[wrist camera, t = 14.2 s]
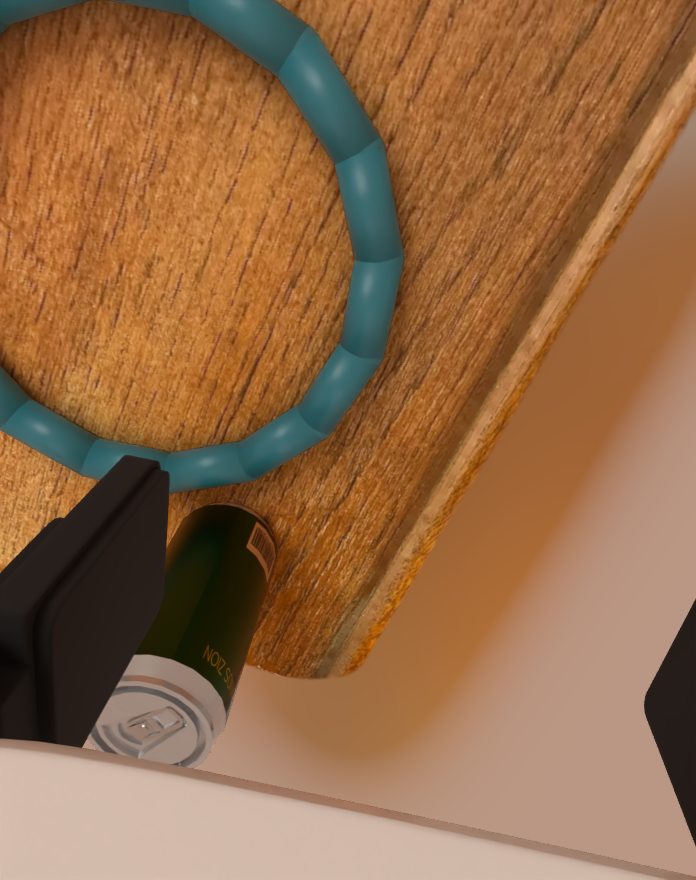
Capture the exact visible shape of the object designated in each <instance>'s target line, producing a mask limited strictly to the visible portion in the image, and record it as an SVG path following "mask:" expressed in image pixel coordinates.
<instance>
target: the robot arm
mask: <svg viewBox="0 0 696 880" xmlns="http://www.w3.org/2000/svg"><path fill="white" fill-rule="evenodd" d="M169 486H170V475H169V472H168V471H164V470H161V466H160V463H159V461H156V460H151V459H146V458H142V457H137V456H132V455H124V456H123V457H122V458H121V459H120V460H119V461H118V462H117V463H116V464H115V465H114V466H113V467H112V468H111V469H110V470H109V472H108V473H107V474H106V475H105V476H104V477H103V478H102V479H101V480H100V481H99V482H98V483H97V484H96V485H95V486H94V487H93V488H92V489H91V490H90V492H89V493H88V494H87V495H86V496H85V497H84V498H83V499H82V500H81V501H80V502H79V503H78V504H77V505H76V506H75V507H74V508H73V509H72V510H71V511H70V513H69V514H68V515H67V516H66V517H65V518H56V519H54V520H53V521H51V522H50V523H49V524H48V525H47V526H46V527H45V528H44V529H43V530H42V531H41V532H40V533H39V534H38V535H37V536H36V537H35V538H34V539H33V540H32V541H31V542H30V543H29V544H28V545H27V546H26V547H25V548H24V549H23V550H22V551H21V552H20V553H19V554H18V555H17V556H16V557H15V558H14V559H13V560H12V561H11V562H10V563H9V564H8V565H7V566H6V567H5V569H4V570H3V571H2V572H1V573H0V880H696V877H695V876H690V875H685V874H681V873H677V872H672V871H667V870H663V869H659V868H654V867H650V866H645V865H640V864H636V863H632V862H627V861H623V860H618V859H613V858H609V857H605V856H600V855H595V854H591V853H587V852H582V851H577V850H573V849H568V848H564V847H559V846H554V845H550V844H545V843H540V842H536V841H531V840H526V839H522V838H517V837H513V836H508V835H503V834H499V833H494V832H489V831H485V830H480V829H476V828H471V827H467V826H462V825H457V824H453V823H448V822H443V821H439V820H434V819H429V818H425V817H420V816H415V815H411V814H406V813H401V812H397V811H392V810H387V809H383V808H378V807H373V806H369V805H364V804H359V803H354V802H350V801H345V800H340V799H335V798H331V797H326V796H321V795H316V794H311V793H307V792H302V791H297V790H292V789H288V788H283V787H278V786H273V785H269V784H264V783H259V782H254V781H249V780H245V779H240V778H235V777H230V776H226V775H221V774H216V773H211V772H207V771H202V770H197V769H191V768H186V767H181V766H176V765H171V764H165V763H160V762H155V761H150V760H145V759H139V758H134V757H129V756H124V755H119V754H113V753H108V752H103V751H98V750H92V749H85V748H82V747H83V745H84V743H85V741H86V740H87V738H88V736H89V734H90V733H91V731H92V729H93V727H94V725H95V724H96V722H97V720H98V718H99V717H100V715H101V713H102V711H103V709H104V708H105V706H106V704H107V702H108V701H109V699H110V697H111V695H112V693H113V692H114V690H115V688H116V686H117V685H118V683H119V681H120V679H121V678H122V676H123V674H124V672H125V670H126V669H127V667H128V665H129V663H130V662H131V660H132V658H133V656H134V654H135V653H136V651H137V649H138V647H139V646H140V644H141V642H142V640H143V638H144V637H145V635H146V633H147V631H148V630H149V628H150V626H151V624H152V622H153V621H154V619H155V617H156V615H157V613H158V611H159V609H160V606H161V603H162V600H163V595H164V580H165V561H166V543H167V524H168V505H169ZM644 709H645V715H646V718H647V721H648V723H649V726H650V729H651V731H652V734H653V736H654V739H655V742H656V744H657V747H658V749H659V752H660V754H661V757H662V760H663V762H664V765H665V767H666V770H667V773H668V775H669V778H670V780H671V783H672V785H673V788H674V791H675V794H676V796H677V799H678V801H679V804H680V807H681V809H682V812H683V814H684V817H685V819H686V822H687V825H688V827H689V830H690V833H691V835H692V838H693V840H694V843H695V845H696V600H695V601H694V603H693V605H692V607H691V609H690V611H689V613H688V615H687V617H686V619H685V621H684V622H683V624H682V627H681V628H680V630H679V632H678V634H677V636H676V638H675V640H674V641H673V643H672V645H671V647H670V649H669V651H668V653H667V655H666V657H665V659H664V661H663V662H662V665H661V666H660V668H659V670H658V672H657V674H656V676H655V678H654V680H653V681H652V683H651V685H650V688H649V689H648V691H647V693H646V696H645V701H644Z"/></svg>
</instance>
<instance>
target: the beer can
mask: <svg viewBox="0 0 696 880" xmlns="http://www.w3.org/2000/svg"><path fill="white" fill-rule="evenodd" d="M276 558H277V548H276V543H275V539H274V536H273V534H272V531H271V530H270V528H269V526H268V525H267V523H266V521H265V520H264V519H263V518H262V517H260V516H259V515H258V514H257V513H256V512H255V511H253V510H251V509H249V508H247V507H245V506H243V505H240V504H236V503H231V502H217V503H212V504H209V505H207V506H204V507H201V508H199V509H196V510H194V511H193V512H192V513H190V514H189V515H188V516H187V517H186V518H184V519H183V521H182V523H181V524H180V526H179V528H178V529H177V531H176V533H175V535H174V536H173V538H172V540H171V541H170V543H169V545H168V547H167V548H166V561H165V580H164V595H163V600H162V603H161V606H160V609H159V611H158V613H157V615H156V617H155V619H154V621H153V622H152V624H151V626H150V628H149V630H148V631H147V633H146V635H145V637H144V638H143V640H142V642H141V644H140V646H139V647H138V649H137V651H136V653H135V654H134V656H133V658H132V660H131V662H130V663H129V665H128V667H127V669H126V670H125V672H124V674H123V676H122V678H121V679H120V681H119V683H118V685H117V686H116V688H115V690H114V692H113V693H112V695H111V697H110V699H109V701H108V702H107V704H106V706H105V708H104V709H103V711H102V713H101V715H100V717H99V718H98V720H97V722H96V724H95V725H94V727H93V729H92V731H91V733H90V734H89V736H88V738H87V739H88V740H89V741H90V743H92V745H93V746H94V747H95V748H96V750H98V751H103V752H108V753H113V754H119V755H124V756H129V757H134V758H139V759H145V760H150V761H155V762H160V763H165V764H171V765H176V766H181V767H186V768H191V769H194V768H195V767H197V766H198V765H200V764H202V763H203V762H204V760H205V759H206V757H207V756H208V755H209V753H210V752H211V749H212V746H213V744H214V743H215V742H216V741H217V739H218V738H219V736H220V735H221V734H222V732H223V731H224V728H225V725H226V722H227V719H228V715H229V712H230V709H231V706H232V703H233V699H234V696H235V693H236V690H237V686H238V683H239V680H240V676H241V674H242V670H243V667H244V664H245V661H246V658H247V654H248V651H249V648H250V645H251V641H252V638H253V635H254V632H255V629H256V625H257V622H258V619H259V616H260V612H261V609H262V606H263V603H264V600H265V596H266V593H267V590H268V587H269V584H270V580H271V577H272V574H273V571H274V567H275V563H276Z"/></svg>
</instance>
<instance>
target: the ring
mask: <svg viewBox="0 0 696 880" xmlns="http://www.w3.org/2000/svg"><path fill="white" fill-rule="evenodd" d="M86 1H89V0H0V35H1V34H2V33H3V32H4V31H5V30H6V29H7V28H8V26H9V25H11V24H14V23H17V22H20V21H24V20H27V19H30V18H33V17H37V16H40V15H43V14H46V13H50V12H53V11H56V10H59V9H63V8H66V7H69V6H73V5H76V4H79V3H82V2H86ZM108 1H113V2H118V3H123V4H128V5H134V6H139V7H144V8H149V9H154V10H159V11H164V12H169V13H175V14H180V15H185V16H190V17H193V18H195V19H196V20H197V21H199V22H200V23H202V24H203V25H204V26H206V27H207V28H209V29H210V30H212V31H213V32H214V33H216V34H217V35H219V36H220V37H221V38H223V39H224V40H226V41H227V42H228V43H230V44H231V45H233V46H234V47H235V48H237V49H238V50H240V51H241V52H243V53H244V54H245V55H247V56H248V57H250V58H251V59H252V60H254V61H255V62H257V63H258V64H259V65H261V66H262V67H264V68H265V69H266V70H268V71H269V72H271V73H272V74H274V75H275V76H276V77H278V78H279V80H280V82H281V83H282V85H283V86H284V88H285V89H286V91H287V92H288V94H289V95H290V97H291V99H292V100H293V102H294V103H295V105H296V106H297V108H298V109H299V111H300V112H301V114H302V115H303V117H304V119H305V120H306V122H307V123H308V125H309V126H310V128H311V129H312V131H313V132H314V134H315V136H316V137H317V139H318V140H319V142H320V143H321V145H322V146H323V148H324V149H325V151H326V153H327V154H328V156H329V157H330V159H331V160H332V162H333V163H334V165H335V169H336V174H337V178H338V183H339V188H340V192H341V197H342V202H343V207H344V211H345V216H346V221H347V225H348V230H349V235H350V240H351V244H352V249H353V254H354V258H355V259H354V265H353V271H352V276H351V282H350V288H349V293H348V299H347V305H346V311H345V316H344V322H343V328H342V333H341V339H340V342H339V344H338V345H337V347H336V349H335V350H334V352H333V353H332V355H331V356H330V358H329V359H328V361H327V362H326V364H325V365H324V367H323V368H322V370H321V371H320V373H319V374H318V376H317V377H316V379H315V380H314V382H313V383H312V385H311V386H310V388H309V389H308V391H307V392H306V394H305V396H304V397H303V399H302V400H301V402H300V403H299V404H298V405H296V406H295V407H293V408H291V409H290V410H288V411H287V412H285V413H284V414H282V415H280V416H279V417H277V418H276V419H274V420H273V421H271V422H269V423H268V424H266V425H265V426H263V427H262V428H260V429H258V430H257V431H255V432H254V433H252V434H251V435H249V436H247V437H246V438H244V439H243V440H241V441H236V442H230V443H224V444H218V445H212V446H206V447H200V448H194V449H188V450H183V451H177V452H169V451H164V450H158V449H153V448H148V447H143V446H138V445H133V444H128V443H123V442H118V441H113V440H107V439H102V438H99V437H98V436H96V435H94V434H92V433H91V432H89V431H87V430H85V429H83V428H82V427H80V426H78V425H76V424H75V423H73V422H71V421H69V420H68V419H66V418H64V417H62V416H61V415H59V414H57V413H55V412H54V411H52V410H50V409H48V408H47V407H45V406H43V405H41V404H39V403H38V402H36V401H34V400H32V399H31V398H30V396H29V395H28V394H27V393H26V392H25V391H24V390H23V389H22V388H21V387H20V386H19V385H18V384H17V383H16V381H15V380H14V379H13V378H12V377H11V376H10V375H9V374H8V373H7V372H6V371H5V370H4V369H3V368H2V367H1V365H0V430H1V431H3V432H4V433H6V434H8V435H9V436H11V437H13V438H15V439H17V440H18V441H20V442H22V443H24V444H26V445H28V446H29V447H31V448H33V449H35V450H37V451H38V452H40V453H42V454H44V455H46V456H47V457H49V458H51V459H53V460H55V461H56V462H58V463H60V464H62V465H64V466H65V467H67V468H69V469H71V470H73V471H74V472H76V473H78V474H80V475H82V476H84V477H88V478H93V479H98V480H101V479H102V478H103V477H104V476H105V475H106V474H107V473H108V472H109V470H110V469H111V468H112V467H113V466H114V465H115V464H116V463H117V462H118V461H119V460H120V459H121V458H122V457H123V456H124V455H132V456H137V457H142V458H146V459H151V460H156V461H159V463H160V466H161V470H164V471H168V472H169V475H170V486H169V493H179V492H186V491H192V490H198V489H205V488H211V487H218V486H224V485H230V484H237V483H243V482H250V481H254V480H257V479H259V478H261V477H263V476H264V475H266V474H267V473H269V472H271V471H272V470H274V469H276V468H277V467H279V466H281V465H282V464H284V463H286V462H287V461H289V460H291V459H292V458H294V457H296V456H297V455H299V454H301V453H302V452H304V451H305V450H307V449H309V448H310V447H312V446H314V445H315V444H317V443H319V442H320V441H322V440H324V439H325V438H327V437H328V436H329V435H330V434H331V433H332V432H333V431H334V429H335V428H336V427H337V425H338V424H339V422H340V421H341V419H342V418H343V417H344V415H345V414H346V412H347V411H348V409H349V408H350V407H351V405H352V404H353V402H354V401H355V400H356V398H357V397H358V395H359V394H360V392H361V391H362V390H363V388H364V387H365V385H366V384H367V383H368V381H369V380H370V378H371V377H372V375H373V374H374V373H375V371H376V370H377V368H378V367H379V365H380V364H381V362H382V361H383V358H384V355H385V350H386V345H387V341H388V336H389V331H390V326H391V322H392V317H393V312H394V307H395V303H396V298H397V293H398V288H399V284H400V279H401V274H402V269H403V264H404V250H403V245H402V239H401V234H400V228H399V223H398V217H397V212H396V206H395V200H394V195H393V189H392V184H391V178H390V173H389V167H388V161H387V156H386V150H385V146H384V142H383V140H382V138H381V136H380V134H379V133H378V131H377V129H376V128H375V126H374V125H373V123H372V121H371V120H370V118H369V116H368V115H367V113H366V111H365V110H364V108H363V107H362V105H361V103H360V102H359V100H358V98H357V97H356V95H355V94H354V92H353V90H352V89H351V87H350V85H349V84H348V82H347V81H346V79H345V77H344V76H343V74H342V72H341V71H340V69H339V67H338V66H337V64H336V63H335V61H334V59H333V58H332V56H331V54H330V53H329V51H328V50H327V48H326V46H325V45H324V43H323V41H322V40H321V38H320V36H319V35H318V34H317V32H316V31H315V30H314V29H313V28H312V27H311V26H309V25H308V24H307V23H305V22H304V21H303V20H301V19H300V18H298V17H297V16H296V15H294V14H293V13H292V12H290V11H289V10H288V9H286V8H285V7H283V6H282V5H281V4H279V3H278V2H277V1H275V0H108Z"/></svg>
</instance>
